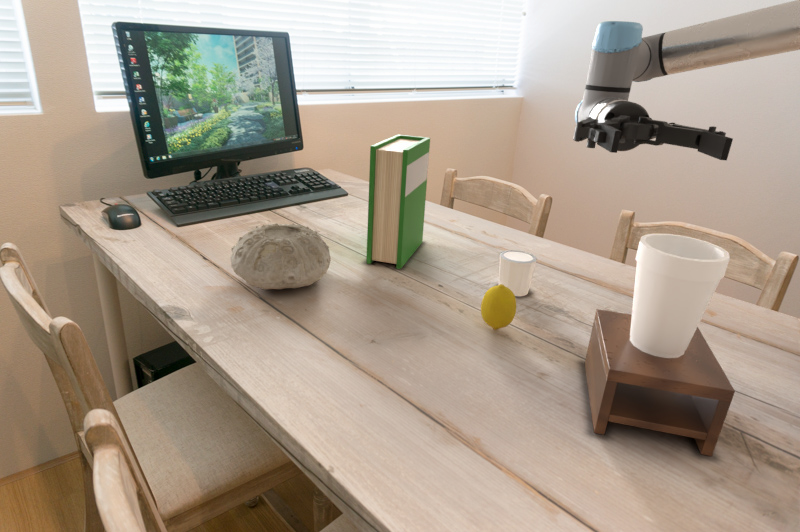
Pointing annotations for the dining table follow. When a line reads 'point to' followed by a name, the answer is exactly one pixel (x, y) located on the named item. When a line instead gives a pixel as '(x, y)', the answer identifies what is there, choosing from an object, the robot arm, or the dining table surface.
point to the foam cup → (673, 291)
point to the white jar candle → (516, 270)
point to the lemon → (498, 306)
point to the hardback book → (397, 198)
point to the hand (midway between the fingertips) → (671, 145)
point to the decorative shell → (280, 256)
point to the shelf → (655, 384)
